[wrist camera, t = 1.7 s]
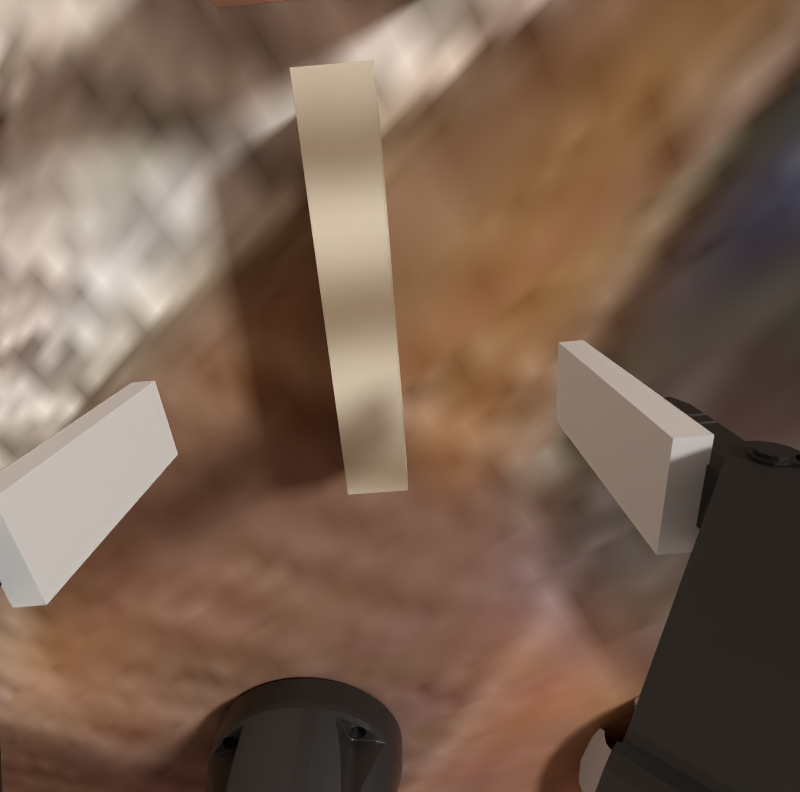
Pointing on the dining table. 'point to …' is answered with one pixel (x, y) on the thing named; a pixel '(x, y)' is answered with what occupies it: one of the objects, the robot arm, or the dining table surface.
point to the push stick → (354, 266)
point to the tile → (239, 2)
